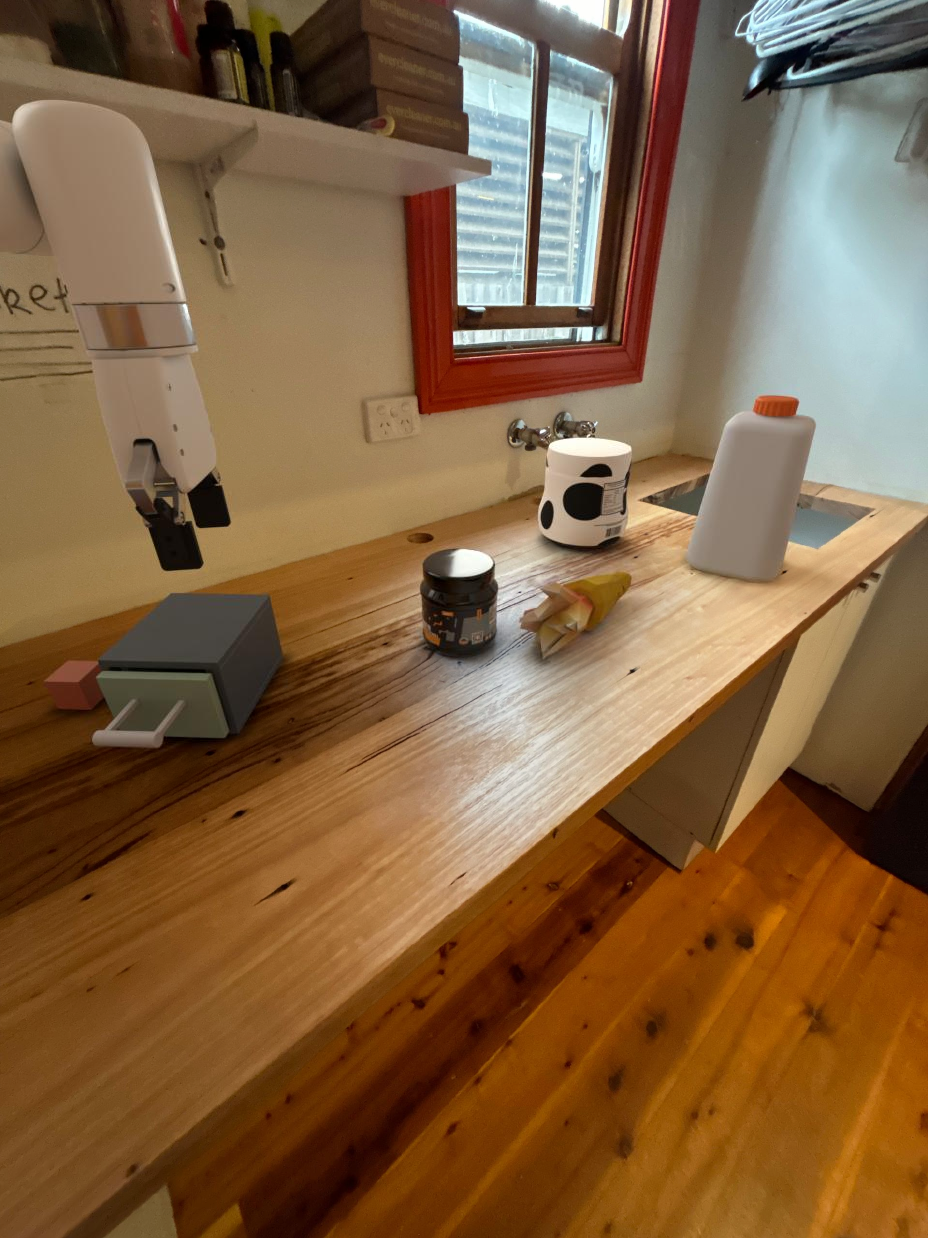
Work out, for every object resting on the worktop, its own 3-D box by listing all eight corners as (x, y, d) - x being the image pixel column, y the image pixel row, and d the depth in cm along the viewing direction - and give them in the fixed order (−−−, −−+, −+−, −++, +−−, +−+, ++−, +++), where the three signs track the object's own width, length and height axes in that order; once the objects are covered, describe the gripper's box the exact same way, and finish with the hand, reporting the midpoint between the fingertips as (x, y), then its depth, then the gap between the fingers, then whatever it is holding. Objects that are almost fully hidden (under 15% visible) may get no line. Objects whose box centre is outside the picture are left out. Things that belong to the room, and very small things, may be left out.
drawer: (197, 783, 53) (174, 722, 48) (83, 779, 53) (51, 718, 49) (270, 664, 70) (257, 612, 65) (183, 662, 70) (165, 610, 66)
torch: (623, 618, 88) (536, 670, 70) (589, 584, 90) (497, 626, 73) (655, 584, 82) (570, 631, 65) (619, 549, 85) (527, 585, 67)
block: (57, 709, 64) (43, 681, 62) (80, 687, 67) (67, 660, 65) (91, 710, 64) (78, 682, 61) (113, 688, 67) (101, 660, 65)
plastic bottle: (678, 568, 95) (715, 400, 81) (699, 540, 106) (734, 388, 92) (773, 589, 88) (831, 409, 74) (784, 557, 99) (837, 394, 84)
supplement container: (416, 625, 79) (412, 550, 73) (485, 615, 82) (485, 542, 75) (431, 665, 71) (426, 584, 64) (506, 653, 73) (509, 574, 67)
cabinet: (238, 734, 60) (217, 662, 55) (128, 731, 60) (96, 660, 55) (283, 658, 72) (269, 594, 67) (191, 656, 73) (171, 592, 68)
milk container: (546, 519, 117) (552, 434, 108) (628, 528, 112) (641, 439, 103) (527, 549, 103) (532, 454, 94) (619, 561, 98) (634, 462, 89)
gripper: (131, 328, 47) (186, 515, 56) (18, 341, 32) (117, 593, 41) (220, 326, 48) (260, 511, 56) (150, 338, 33) (219, 585, 42)
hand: (200, 545), depth 49 cm, fingers open, 9 cm apart
